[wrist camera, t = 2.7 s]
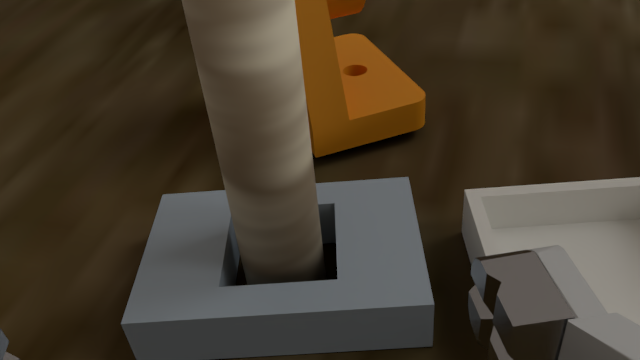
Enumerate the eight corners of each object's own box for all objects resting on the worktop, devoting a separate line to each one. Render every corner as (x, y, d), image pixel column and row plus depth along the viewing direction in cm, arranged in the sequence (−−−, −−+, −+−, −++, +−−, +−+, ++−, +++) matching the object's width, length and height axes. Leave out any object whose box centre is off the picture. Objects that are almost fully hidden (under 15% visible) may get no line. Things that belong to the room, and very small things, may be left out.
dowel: (326, 252, 29) (293, -45, 21) (327, 310, 26) (289, -7, 18) (251, 257, 29) (189, -36, 21) (244, 315, 26) (168, 3, 18)
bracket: (430, 137, 36) (436, -72, 29) (317, 169, 35) (293, -44, 27) (361, 65, 44) (352, -112, 37) (266, 89, 43) (238, -92, 36)
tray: (655, 218, 29) (669, 174, 27) (770, 386, 22) (799, 340, 20) (461, 231, 29) (464, 189, 28) (509, 401, 22) (517, 357, 20)
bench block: (408, 216, 31) (408, 176, 29) (432, 346, 24) (434, 304, 23) (174, 232, 31) (162, 194, 30) (138, 363, 25) (120, 323, 23)
